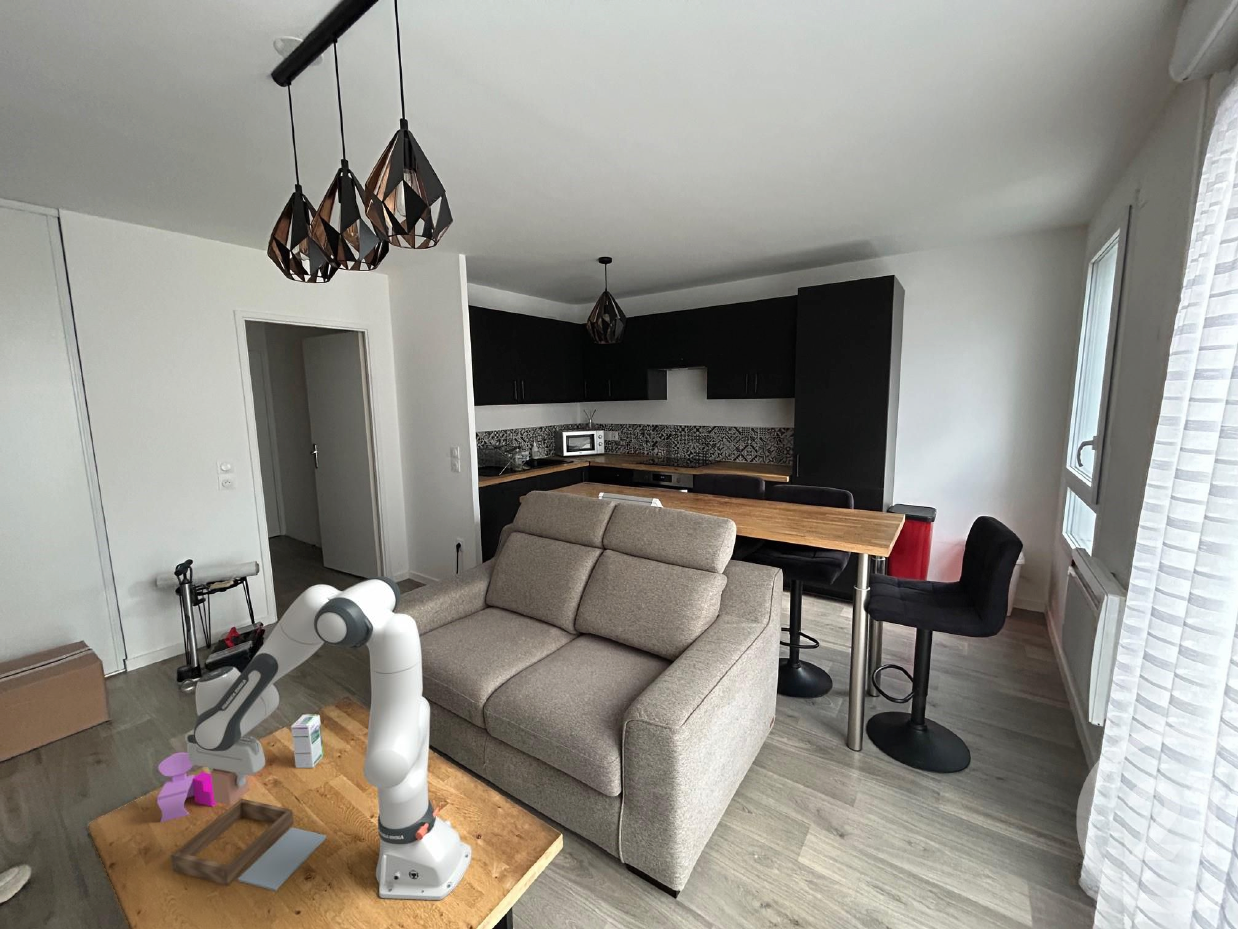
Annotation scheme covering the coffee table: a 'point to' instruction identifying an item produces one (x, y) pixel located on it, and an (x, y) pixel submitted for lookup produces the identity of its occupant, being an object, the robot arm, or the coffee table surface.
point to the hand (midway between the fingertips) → (230, 782)
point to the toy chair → (175, 786)
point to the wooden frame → (213, 870)
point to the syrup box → (307, 741)
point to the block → (227, 787)
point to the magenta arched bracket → (203, 789)
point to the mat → (282, 859)
